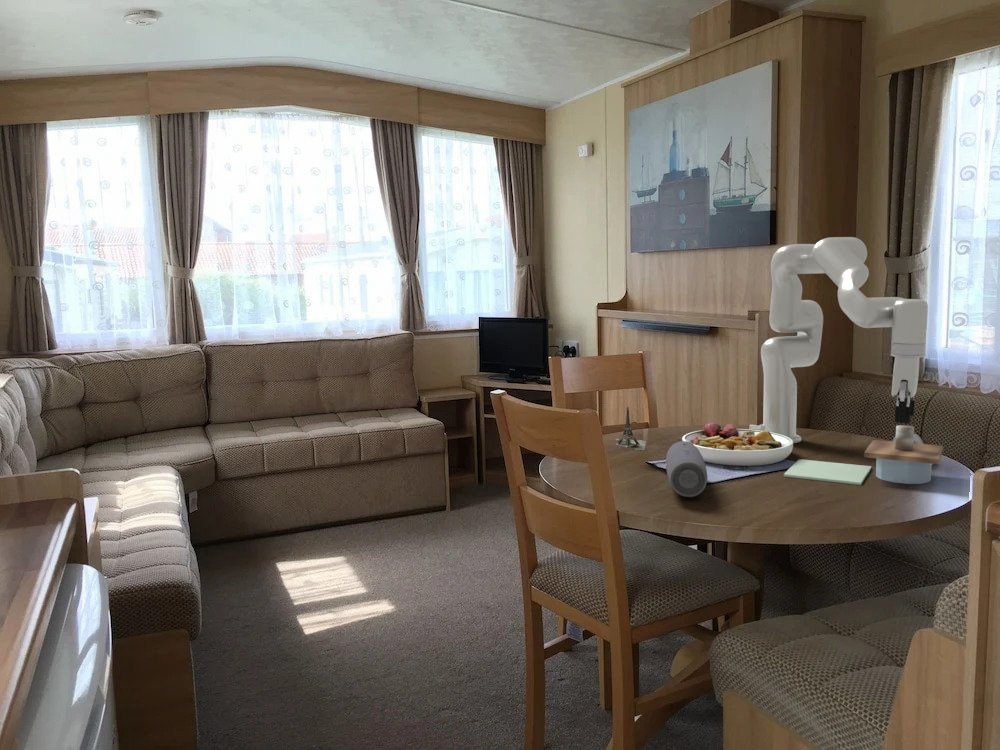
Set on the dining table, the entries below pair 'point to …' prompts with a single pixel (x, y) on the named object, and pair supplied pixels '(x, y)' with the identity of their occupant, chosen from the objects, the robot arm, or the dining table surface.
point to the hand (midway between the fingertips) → (904, 419)
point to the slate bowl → (903, 471)
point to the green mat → (828, 471)
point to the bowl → (739, 445)
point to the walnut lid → (904, 448)
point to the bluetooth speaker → (686, 469)
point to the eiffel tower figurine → (630, 436)
